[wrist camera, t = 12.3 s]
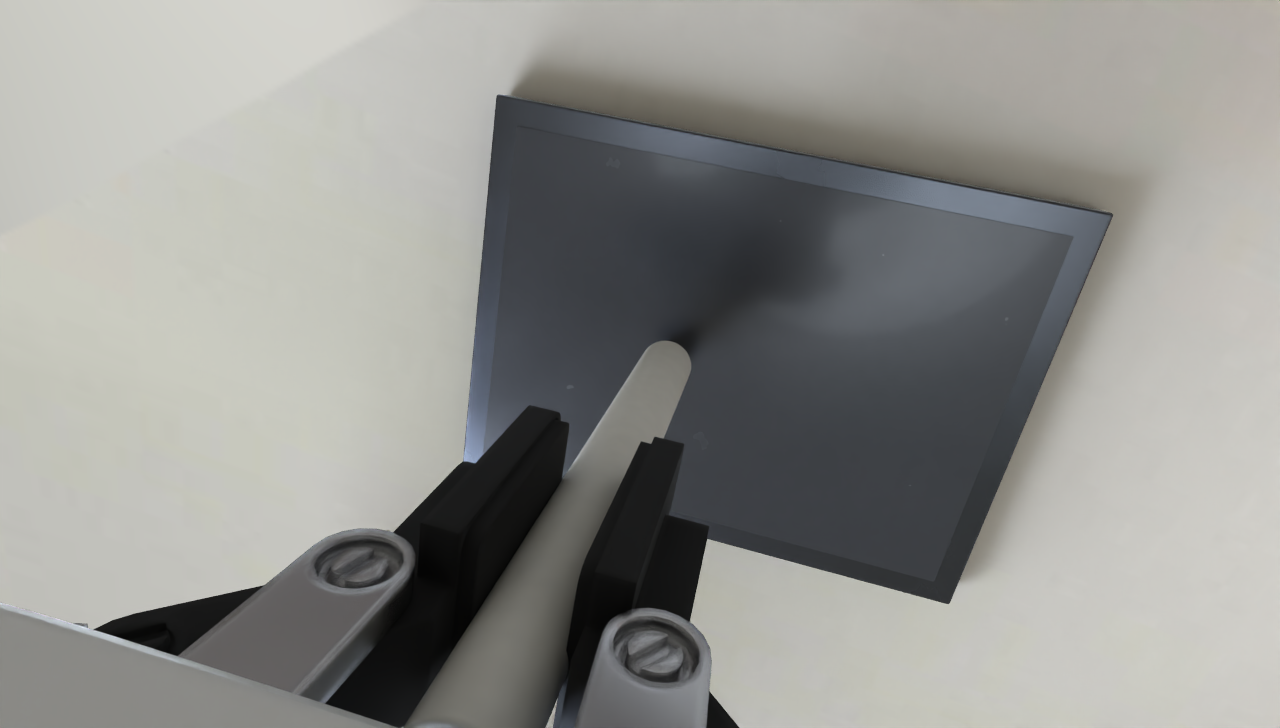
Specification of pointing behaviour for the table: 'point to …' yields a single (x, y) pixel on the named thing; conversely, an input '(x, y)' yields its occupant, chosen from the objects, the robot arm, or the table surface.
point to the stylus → (550, 570)
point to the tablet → (777, 328)
